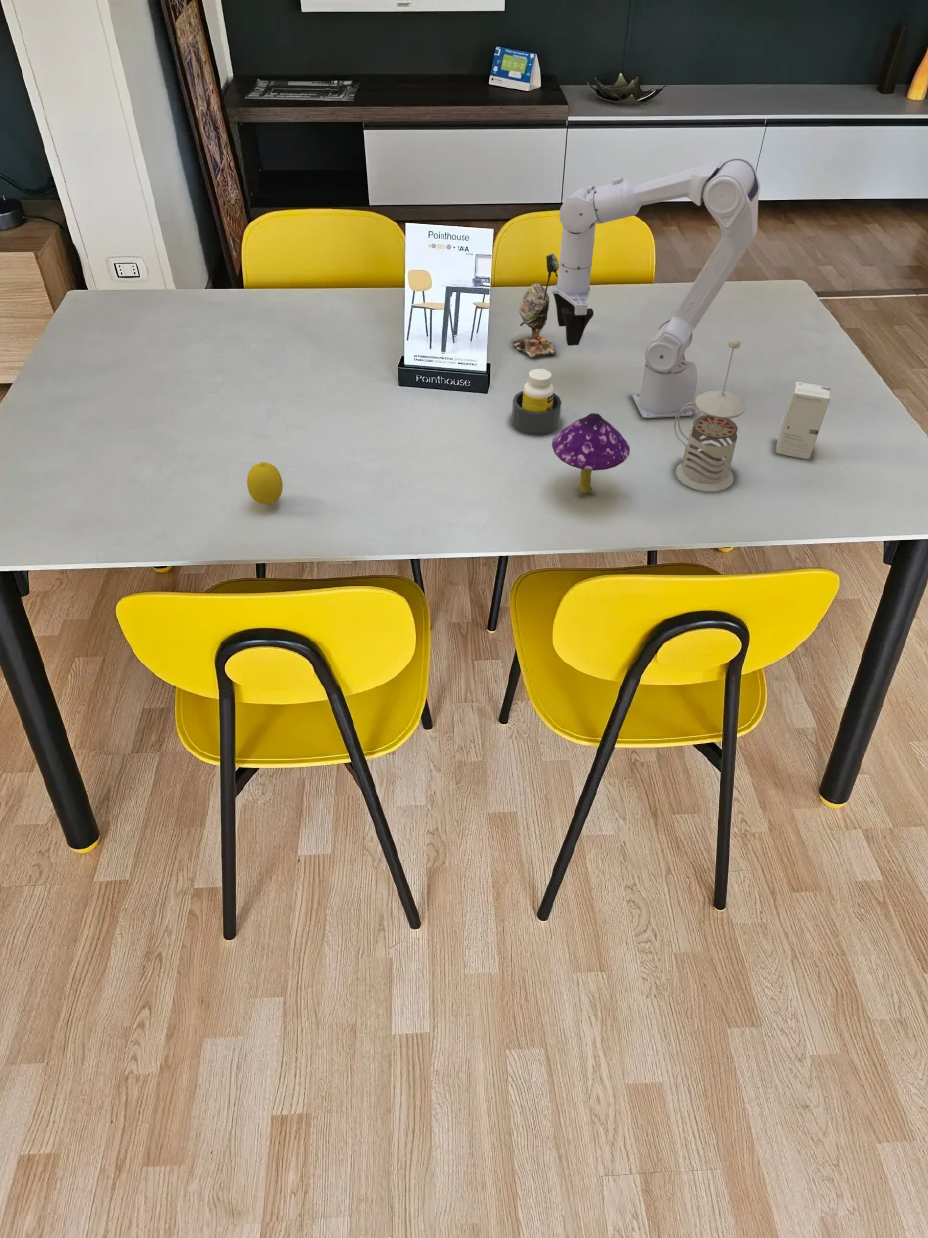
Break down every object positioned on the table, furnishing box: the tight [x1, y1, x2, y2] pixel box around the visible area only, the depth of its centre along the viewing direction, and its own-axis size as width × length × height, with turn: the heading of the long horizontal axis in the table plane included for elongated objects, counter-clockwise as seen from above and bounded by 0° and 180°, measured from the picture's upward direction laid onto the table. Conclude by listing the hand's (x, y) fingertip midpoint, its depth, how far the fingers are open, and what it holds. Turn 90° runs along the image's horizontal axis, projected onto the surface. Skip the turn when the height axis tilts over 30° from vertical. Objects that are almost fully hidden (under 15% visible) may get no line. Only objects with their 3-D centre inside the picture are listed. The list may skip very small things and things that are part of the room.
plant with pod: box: [512, 253, 559, 358], centre depth 188 cm, size 8×11×20 cm
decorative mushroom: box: [551, 412, 631, 495], centre depth 152 cm, size 12×12×15 cm
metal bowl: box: [511, 390, 562, 436], centre depth 171 cm, size 9×9×4 cm
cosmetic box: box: [775, 381, 832, 460], centre depth 164 cm, size 6×4×12 cm
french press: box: [673, 337, 747, 492], centre depth 153 cm, size 10×12×25 cm
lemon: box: [246, 461, 284, 506], centre depth 151 cm, size 6×6×8 cm
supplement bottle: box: [522, 368, 555, 412], centre depth 169 cm, size 5×5×10 cm
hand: (568, 334), depth 176 cm, fingers open, 7 cm apart
